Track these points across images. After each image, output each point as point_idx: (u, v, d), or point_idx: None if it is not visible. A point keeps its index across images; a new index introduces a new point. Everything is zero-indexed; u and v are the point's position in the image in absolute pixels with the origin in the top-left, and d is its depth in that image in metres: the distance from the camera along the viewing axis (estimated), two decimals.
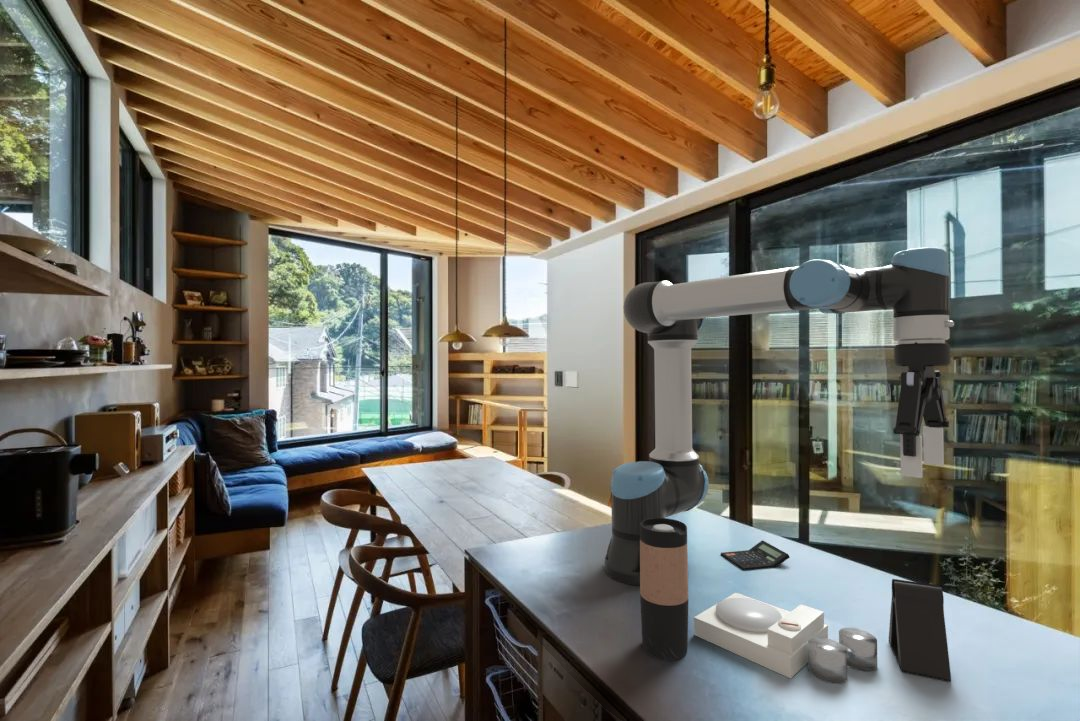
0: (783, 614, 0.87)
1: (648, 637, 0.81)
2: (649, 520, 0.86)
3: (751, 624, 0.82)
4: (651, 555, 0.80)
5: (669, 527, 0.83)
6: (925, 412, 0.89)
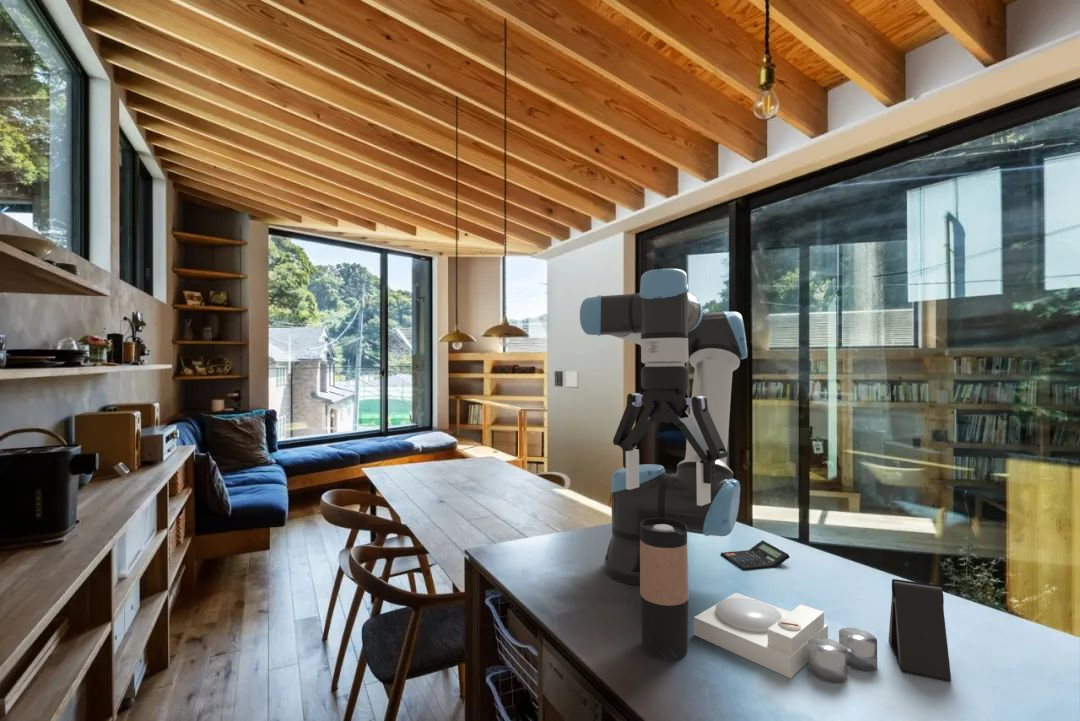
0: (783, 614, 0.87)
1: (648, 637, 0.81)
2: (649, 520, 0.86)
3: (751, 624, 0.82)
4: (651, 555, 0.80)
5: (669, 527, 0.83)
6: None
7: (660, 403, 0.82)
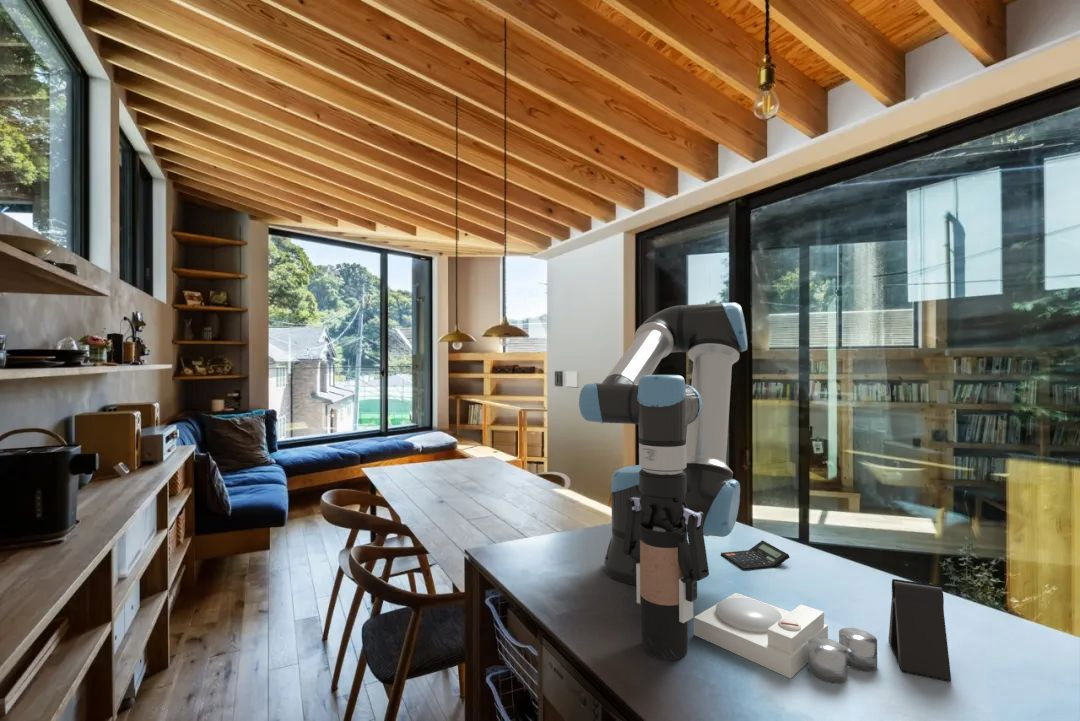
0: (783, 614, 0.87)
1: (648, 637, 0.81)
2: None
3: (751, 624, 0.82)
4: (651, 555, 0.80)
5: None
6: None
7: (658, 508, 0.82)
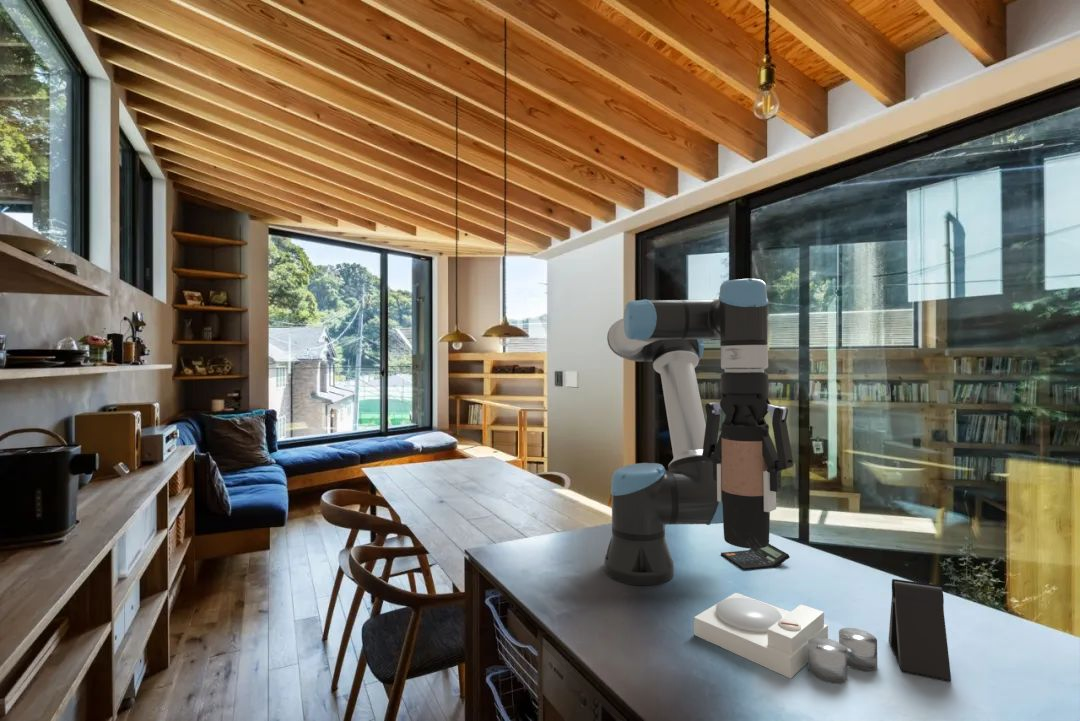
0: (783, 614, 0.87)
1: (732, 529, 0.85)
2: None
3: (751, 624, 0.82)
4: (735, 450, 0.84)
5: None
6: None
7: (740, 407, 0.86)
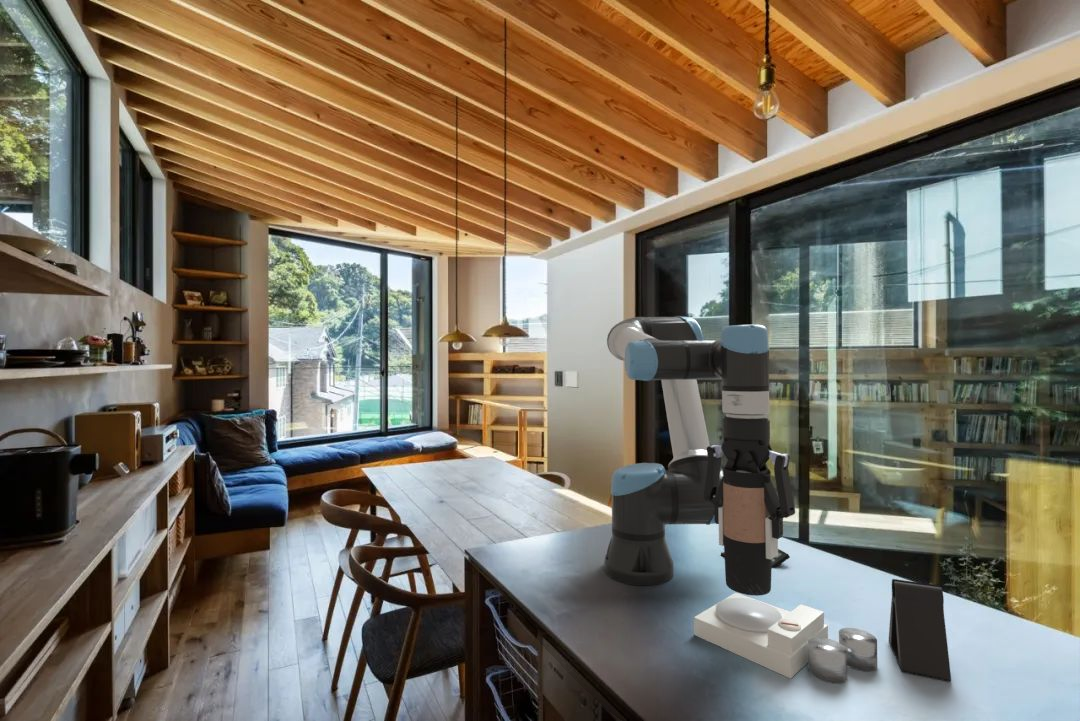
0: (783, 614, 0.87)
1: (734, 575, 0.84)
2: None
3: (751, 624, 0.82)
4: (737, 496, 0.84)
5: None
6: None
7: (742, 452, 0.86)
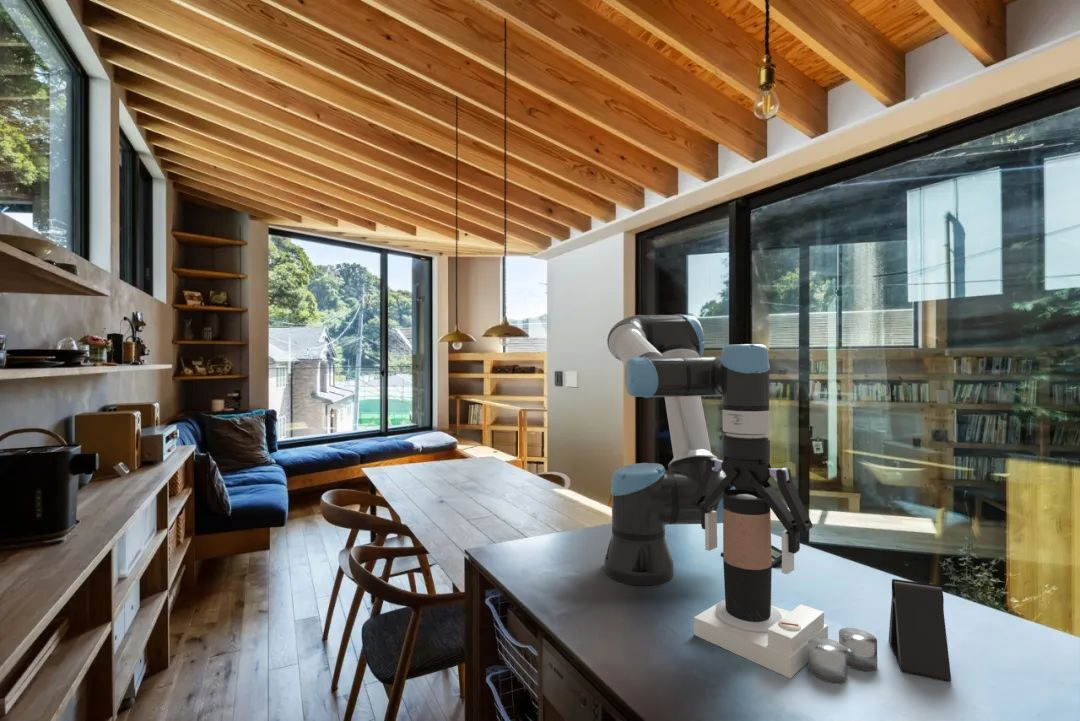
0: (783, 614, 0.87)
1: (734, 601, 0.85)
2: (730, 491, 0.90)
3: (751, 624, 0.82)
4: (737, 522, 0.84)
5: (752, 496, 0.86)
6: None
7: (742, 471, 0.86)
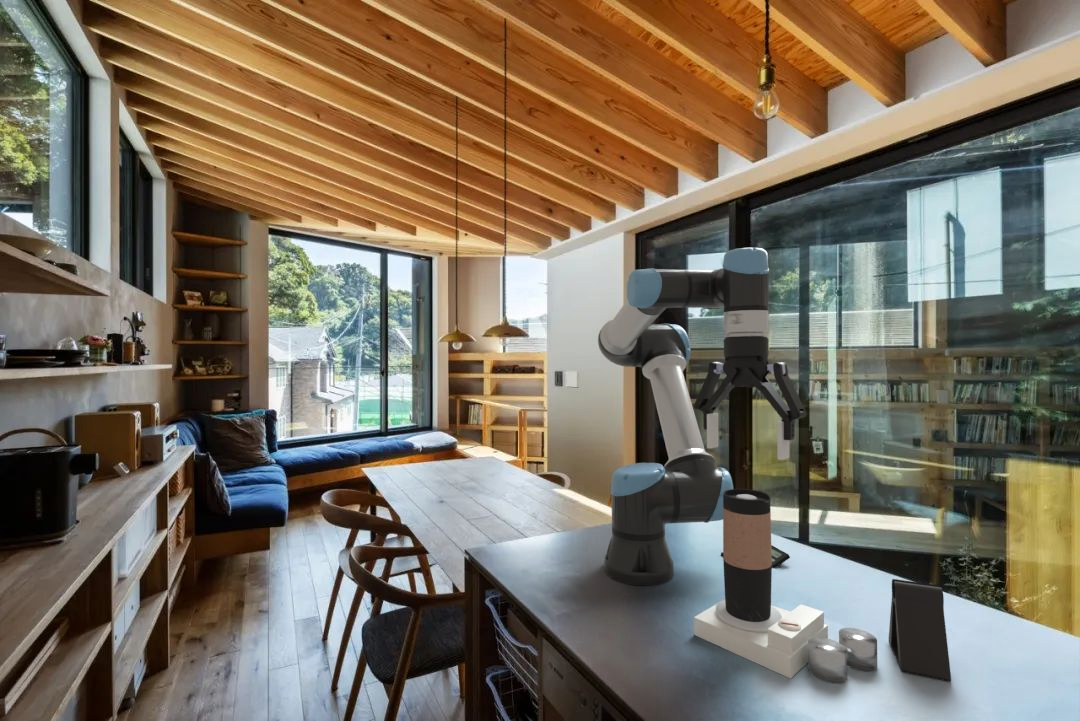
0: (783, 614, 0.87)
1: (734, 601, 0.85)
2: (730, 491, 0.90)
3: (751, 624, 0.82)
4: (737, 522, 0.84)
5: (752, 496, 0.86)
6: None
7: (742, 370, 0.91)
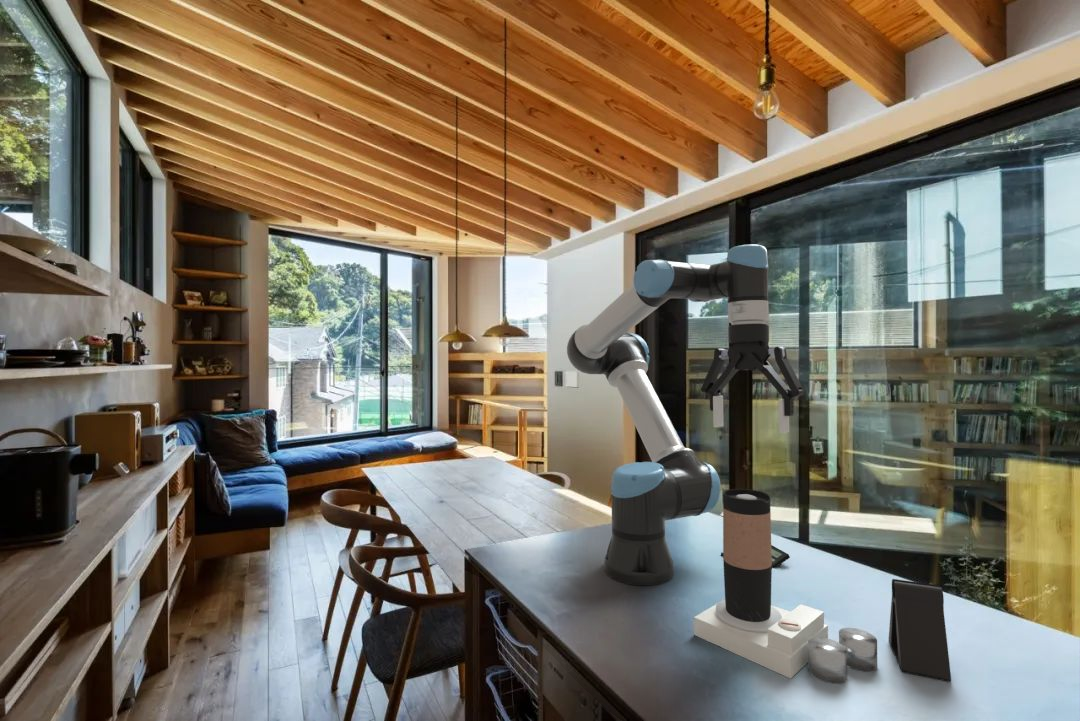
0: (783, 614, 0.87)
1: (734, 601, 0.85)
2: (730, 491, 0.90)
3: (751, 624, 0.82)
4: (737, 522, 0.84)
5: (752, 496, 0.86)
6: None
7: (745, 354, 1.01)
